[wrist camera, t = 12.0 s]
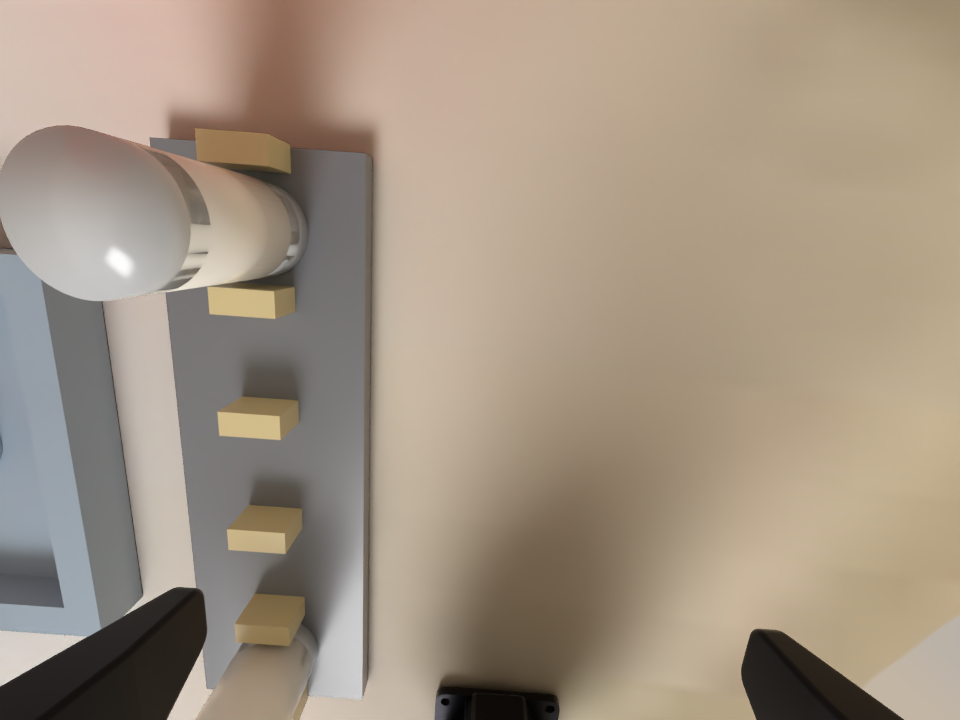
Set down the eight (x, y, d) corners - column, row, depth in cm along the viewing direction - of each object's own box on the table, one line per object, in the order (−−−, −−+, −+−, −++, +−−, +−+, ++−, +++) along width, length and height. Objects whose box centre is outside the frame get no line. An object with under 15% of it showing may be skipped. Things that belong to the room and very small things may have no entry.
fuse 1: (310, 279, 18) (175, 305, 10) (219, 274, 18) (16, 296, 10) (306, 182, 17) (155, 130, 9) (210, 177, 17) (-20, 121, 9)
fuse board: (367, 683, 24) (352, 738, 22) (218, 672, 24) (184, 726, 22) (372, 155, 18) (351, 139, 15) (167, 140, 18) (109, 121, 15)
